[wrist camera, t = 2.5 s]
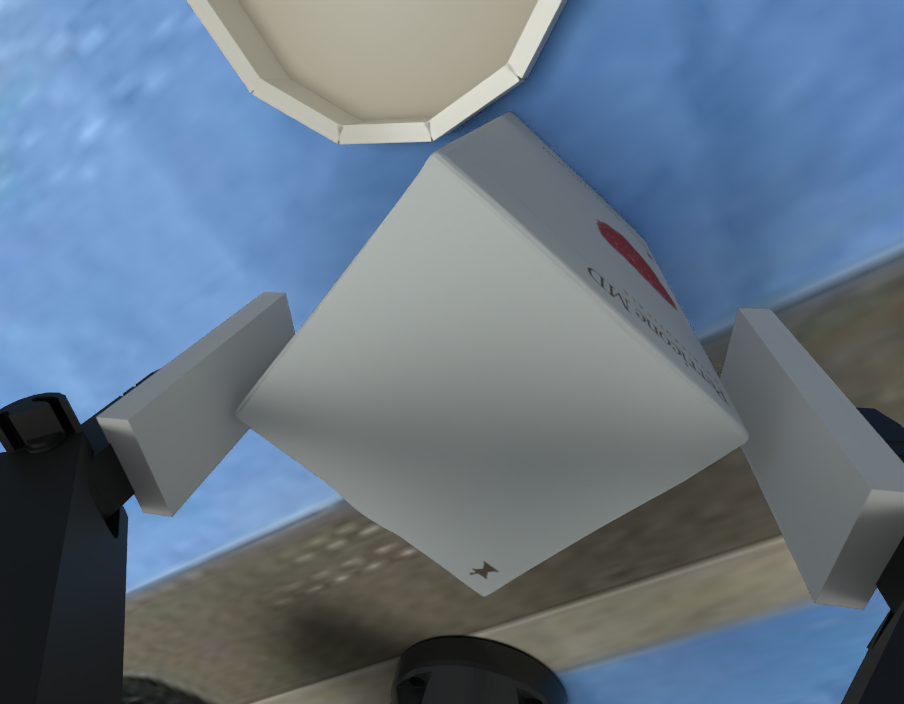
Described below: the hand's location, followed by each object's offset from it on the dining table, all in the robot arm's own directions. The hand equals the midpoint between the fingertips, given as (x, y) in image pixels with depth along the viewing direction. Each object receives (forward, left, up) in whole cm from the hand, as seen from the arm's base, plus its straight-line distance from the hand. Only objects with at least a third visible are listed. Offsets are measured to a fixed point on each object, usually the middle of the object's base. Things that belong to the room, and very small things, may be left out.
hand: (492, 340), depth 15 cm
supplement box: (0, 0, -11) cm, 11 cm away
